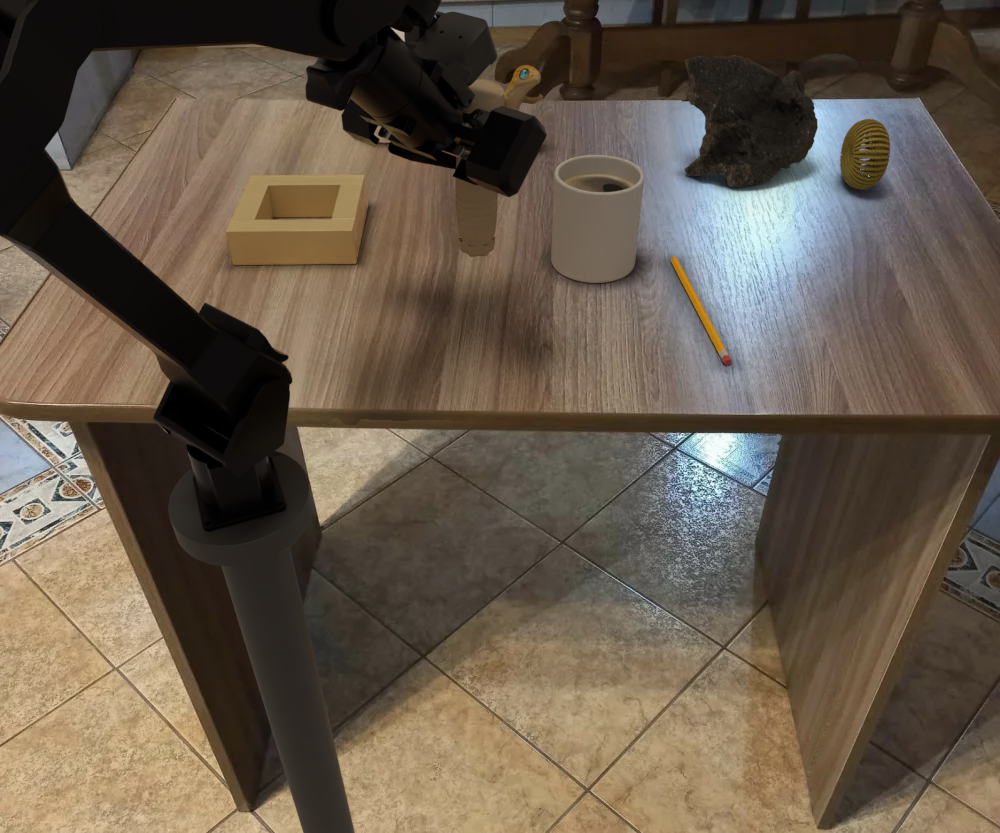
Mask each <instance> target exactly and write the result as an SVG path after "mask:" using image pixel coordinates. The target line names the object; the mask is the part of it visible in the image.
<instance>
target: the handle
mask: <svg viewBox="0 0 1000 833" xmlns="http://www.w3.org/2000/svg"><path fill="white" fill-rule="evenodd" d="M468 87H469V88H470V90H471V91H472V92H473V93H474V94H475V97H474V99H473V101H472V103H471V105H470V107H469V108H468V109H467V108H464V109H463V111H462V112H464V113H467V114H470V113H471V112H472V111H474V110H475V109H482V110H485V111H488V112H491V110H493V109H495V108H498V107H500V106H504V93H505V91H504V89H503V86H501V85H500V84H498V83H496V82H495V81H492V80H490V79H489V80H488V79H476V81H475V82H474V83H473V84H472V85H470V86H468ZM468 127H471V126H470V125H469V126H468ZM471 128H472V127H471ZM458 144H459V143H458ZM460 160H461V158H459V157H456V168H457V166H458V164H459V162H460ZM454 186H455V188H454V192H455V195H454V196H455V197H454V198H455V212H456V224H457V230H458V235H459V238H458V243H459V249H460V251H461V252H462V253H464V254H467V255H468V256H469V258H475V257H488V255H489V253H491V252H493V251H494V250H495V246H496V245H495V244H496V236H495V235H496V230H497V222H498V220H497V219H498V206H499V205H498V204H499V203H498V198H499V196H498V195H499V194H498V193H496V192H493V191H491V190H488V189H485V188H483V187H482V186H480V185H479V186H478V185H473V184H471V183H468V182H465V181H463V180H460V179H457V178H455V185H454Z"/></svg>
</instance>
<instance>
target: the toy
mask: <svg viewBox="0 0 1000 833" xmlns="http://www.w3.org/2000/svg"><path fill="white" fill-rule="evenodd" d="M541 81H542V75H541V73H540V72H539V70H538V69H537V68H536V67H534V66H532V65H529V64H523V65H520V66H519V67H517V69H516V70H515V71H514V72H513V75H512V78H511V80H510V82H509V84H508V85H507V87H506V89H505V91H504V107H508V108H511V109H514V110H517V111H519V109H520V107H521V105H522V104H528V105H534V104H537V103H538V102H543V101H544V96H543V95H542V94H541V93H539V94H538V96H534V97H532V96H528V95H527V94H528V92H529V91H531V90H532V89H533V88H534V87H536V86H537V85H539V84H540V83H541Z"/></svg>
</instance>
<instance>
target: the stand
mask: <svg viewBox="0 0 1000 833" xmlns="http://www.w3.org/2000/svg"><path fill="white" fill-rule="evenodd" d="M368 209H369V202H368V193H367V183H366V174H282V175H281V174H278V175H277V174H275V175H273V174H272V175H267V174H266V175H264V174H262V175H261V174H260V175H259V174H258V175H249V178H248V180H247V182H246V184H245V186H244V189H243V191H242V193H241V195H240V198H239V200H238V202H237V205H236V207H235V209H234V211H233V214H232V216H231V218H230V221H229V223H228V225H227V227H226V230H225V235H226V239H227V244H228V248H229V253H230V258H231V262H232V265H233V266H272V265H273V266H278V265H280V266H282V265H285V266H286V265H289V266H290V265H356V264H357V262H358V258H359V253H360V248H361V242H362V237H363V233H364V228H365V222H366V217H367V214H368ZM275 218H294V219H275ZM295 218H296V219H295ZM297 218H298V219H297ZM299 218H302V219H299ZM303 218H304V219H303ZM305 218H306V219H305ZM307 218H308V219H307ZM309 218H310V219H309ZM314 218H315V219H314Z"/></svg>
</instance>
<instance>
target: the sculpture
mask: <svg viewBox="0 0 1000 833" xmlns="http://www.w3.org/2000/svg"><path fill="white" fill-rule="evenodd" d="M890 154H891V138H890V135H889V132H888V130H887V127H885V125H884V124H883V123H882V122H880V120H876V119H874V118H873V119H872V118H865V119H861V120H859V121H857V122H855V123H854V124H853V125H852V126H850V128H849V129H848V131H846V134H845V136H844V139H843V141H842V144H841V149H840V156H839V158H840V159H839V165H840V173H841V177H842V178H843V180H844V182H845V183H846V184H847V185H848V186H849V187H851V188H852V189H854V190H855V189H856V190H866V189H870V188H872V186H873V187H875V186H876V185H877V184H878V183H879V182H880V181H881V180H882V178H883V177H884V175H885V173H886V171H887V168H888V167H889V166H888V165H889V161H890V156H891V155H890ZM860 169H861V170H860ZM868 175H869V176H870V177H868ZM845 180H846V181H847V182H846V181H845Z"/></svg>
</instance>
